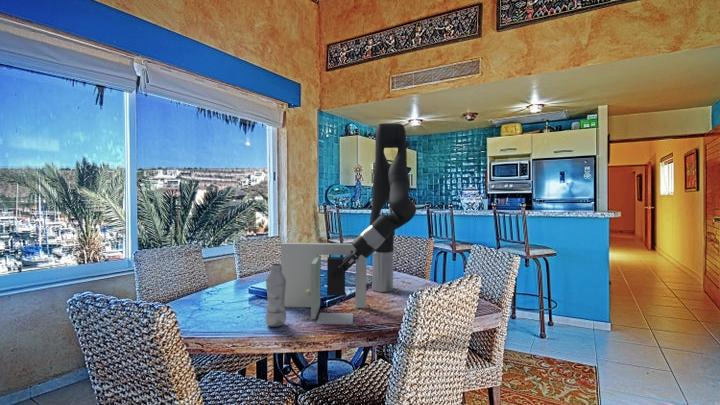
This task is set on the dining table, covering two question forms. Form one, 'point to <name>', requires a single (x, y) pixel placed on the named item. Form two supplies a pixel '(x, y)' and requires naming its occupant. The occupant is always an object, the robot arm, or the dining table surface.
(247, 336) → the dining table surface
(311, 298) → the door frame
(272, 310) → the plastic bottle
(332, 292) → the black rectangular block
